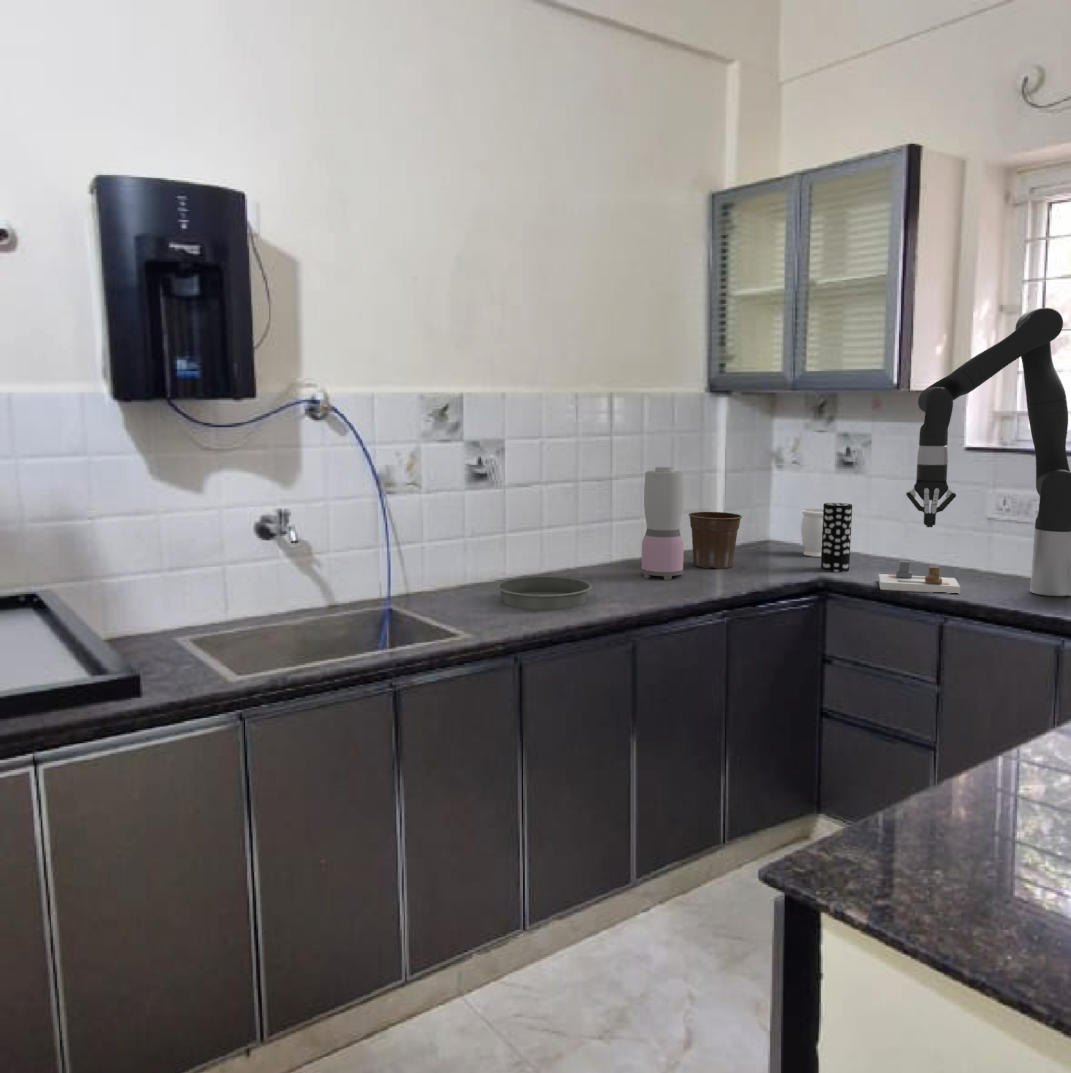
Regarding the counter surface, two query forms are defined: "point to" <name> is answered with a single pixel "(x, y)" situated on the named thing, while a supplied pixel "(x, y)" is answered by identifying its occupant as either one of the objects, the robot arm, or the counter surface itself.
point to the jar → (812, 532)
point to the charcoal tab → (904, 569)
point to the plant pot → (714, 538)
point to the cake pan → (544, 592)
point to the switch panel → (917, 584)
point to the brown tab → (933, 575)
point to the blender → (663, 523)
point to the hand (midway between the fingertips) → (929, 526)
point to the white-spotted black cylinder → (836, 537)
